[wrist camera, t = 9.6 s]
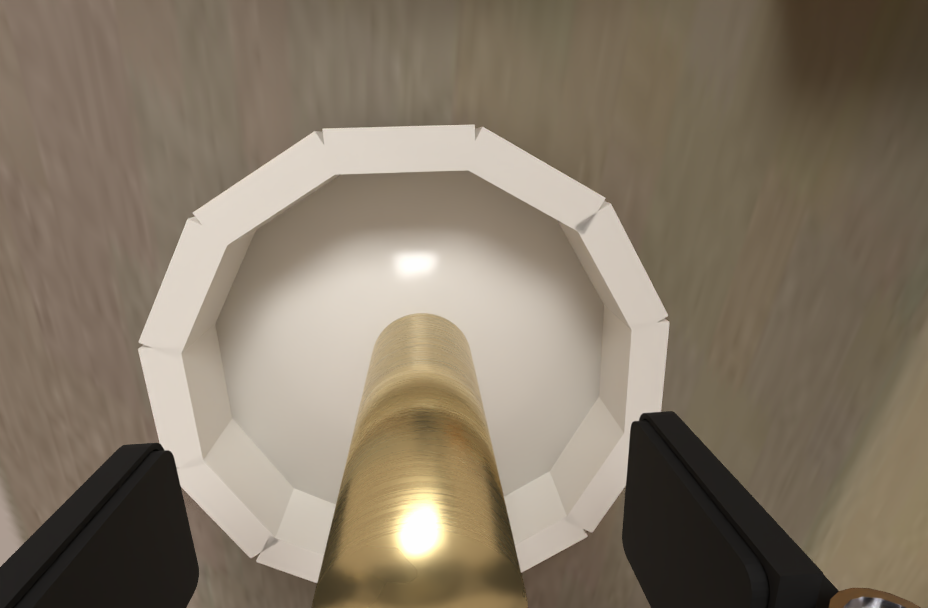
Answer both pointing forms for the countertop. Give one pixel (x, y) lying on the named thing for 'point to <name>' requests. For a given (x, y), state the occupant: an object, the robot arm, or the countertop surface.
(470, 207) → the dish
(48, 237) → the countertop surface
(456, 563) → the pin
